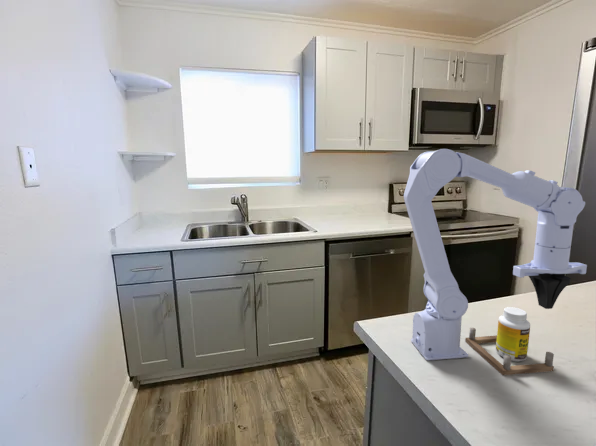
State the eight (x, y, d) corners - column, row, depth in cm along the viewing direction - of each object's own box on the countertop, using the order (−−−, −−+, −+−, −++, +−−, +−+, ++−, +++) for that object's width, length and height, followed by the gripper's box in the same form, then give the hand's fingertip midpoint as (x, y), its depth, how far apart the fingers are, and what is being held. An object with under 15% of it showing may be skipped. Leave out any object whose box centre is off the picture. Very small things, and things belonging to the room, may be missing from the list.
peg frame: (502, 375, 60) (504, 359, 60) (465, 341, 72) (466, 327, 71) (553, 371, 61) (555, 355, 60) (508, 338, 73) (509, 324, 72)
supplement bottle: (519, 366, 63) (524, 319, 61) (490, 353, 67) (494, 309, 66) (531, 356, 66) (536, 312, 64) (502, 344, 70) (506, 302, 69)
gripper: (567, 239, 68) (560, 297, 70) (504, 242, 67) (499, 300, 69) (600, 246, 61) (591, 311, 63) (531, 250, 60) (524, 315, 62)
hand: (545, 306), depth 66 cm, fingers closed
